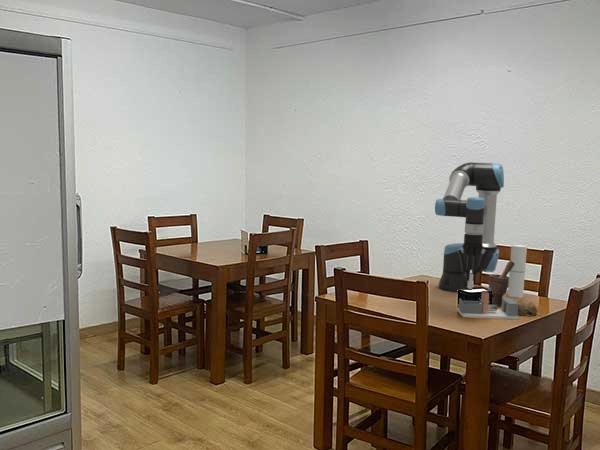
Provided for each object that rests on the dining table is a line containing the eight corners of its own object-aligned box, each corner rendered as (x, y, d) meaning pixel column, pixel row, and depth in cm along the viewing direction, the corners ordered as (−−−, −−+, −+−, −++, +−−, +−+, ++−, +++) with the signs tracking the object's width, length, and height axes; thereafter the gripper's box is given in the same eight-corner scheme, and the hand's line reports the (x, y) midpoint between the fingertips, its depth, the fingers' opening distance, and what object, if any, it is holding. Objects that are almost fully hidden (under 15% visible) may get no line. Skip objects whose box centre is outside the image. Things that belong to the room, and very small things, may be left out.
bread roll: (517, 323, 266) (523, 309, 261) (505, 308, 274) (511, 294, 270) (537, 322, 268) (543, 308, 264) (524, 307, 277) (530, 293, 272)
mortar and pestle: (497, 299, 293) (500, 258, 291) (514, 303, 287) (517, 261, 284) (483, 302, 286) (486, 260, 284) (500, 306, 279) (503, 263, 277)
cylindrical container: (507, 296, 300) (511, 246, 298) (507, 293, 307) (511, 244, 304) (523, 298, 298) (527, 247, 295) (522, 295, 305) (526, 245, 302)
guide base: (456, 309, 271) (457, 295, 270) (509, 312, 270) (510, 297, 270) (463, 317, 259) (464, 302, 258) (518, 319, 258) (519, 304, 258)
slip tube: (461, 309, 267) (462, 290, 266) (494, 311, 267) (495, 291, 266) (463, 312, 263) (465, 292, 262) (497, 313, 262) (498, 293, 261)
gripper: (460, 234, 257) (456, 289, 260) (491, 235, 257) (487, 290, 259) (456, 232, 265) (452, 285, 267) (486, 233, 264) (482, 287, 267)
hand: (469, 288), depth 263 cm, fingers closed
